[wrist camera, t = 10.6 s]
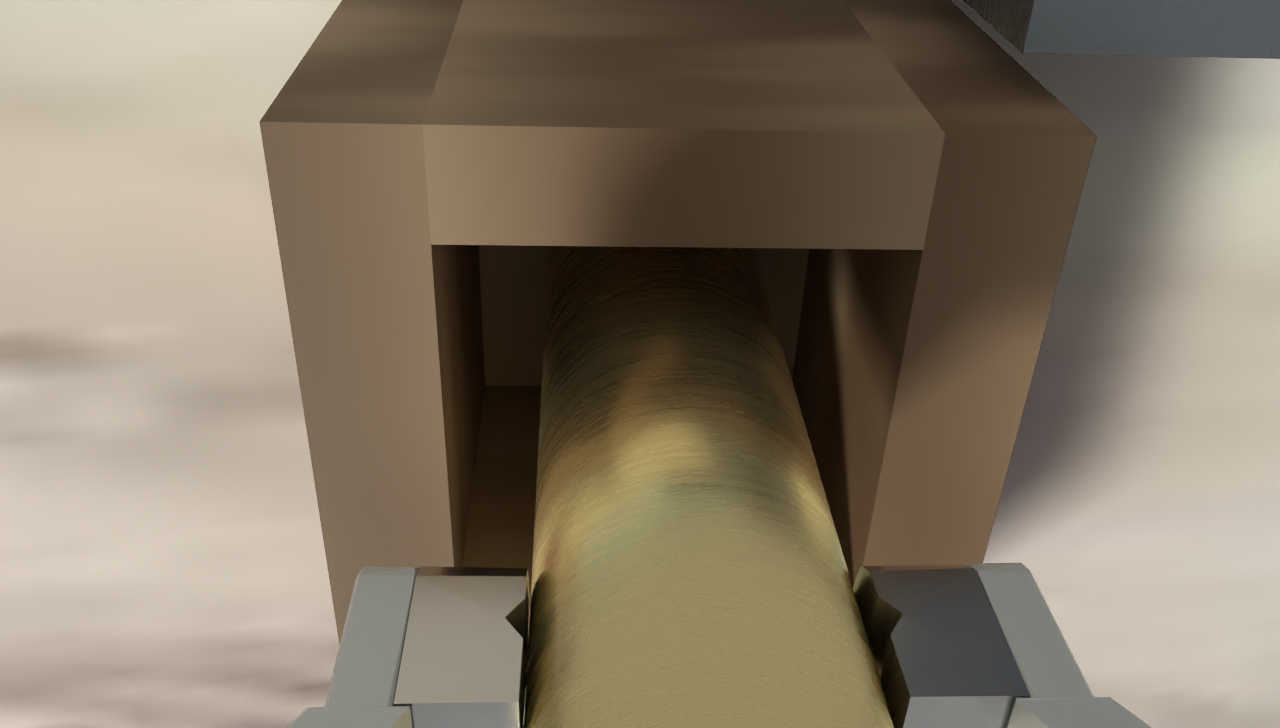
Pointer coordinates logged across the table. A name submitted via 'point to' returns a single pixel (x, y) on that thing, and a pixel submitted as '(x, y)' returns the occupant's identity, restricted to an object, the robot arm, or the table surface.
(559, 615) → the gold rounded rod
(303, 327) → the box
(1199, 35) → the socket block
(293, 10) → the table surface
